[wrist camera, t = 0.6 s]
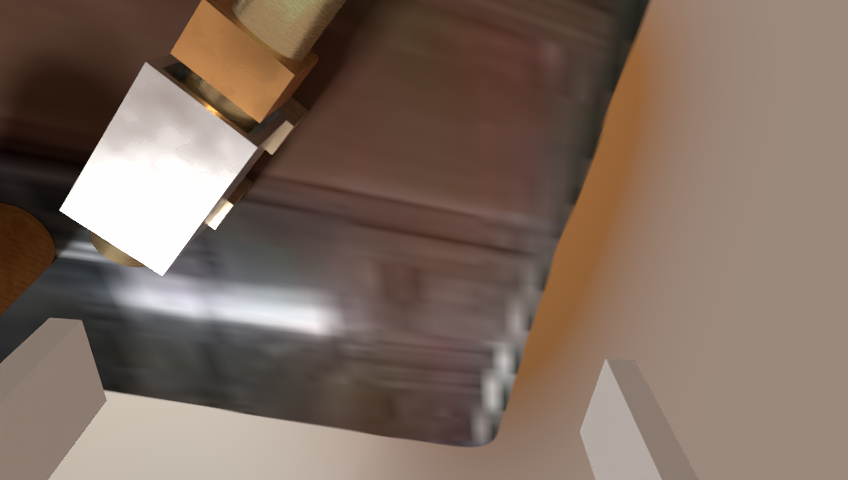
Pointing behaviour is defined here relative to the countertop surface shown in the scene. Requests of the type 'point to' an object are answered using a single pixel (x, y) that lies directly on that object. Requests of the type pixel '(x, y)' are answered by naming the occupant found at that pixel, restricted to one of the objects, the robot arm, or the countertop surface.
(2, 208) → the disposable coffee cup
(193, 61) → the cylinder on square base
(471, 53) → the countertop surface
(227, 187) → the white blocky legged figure
